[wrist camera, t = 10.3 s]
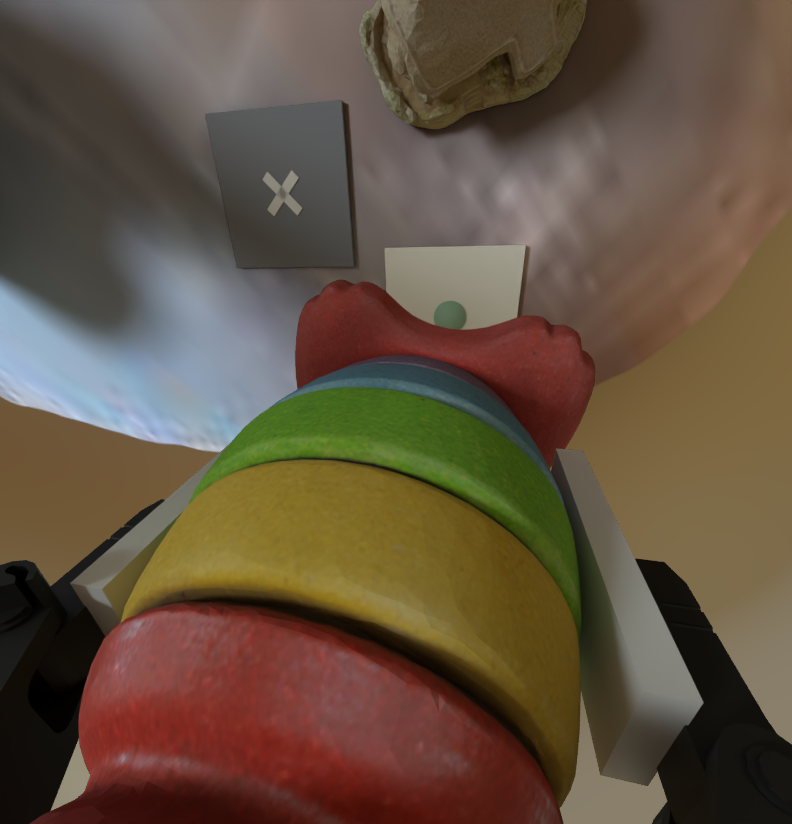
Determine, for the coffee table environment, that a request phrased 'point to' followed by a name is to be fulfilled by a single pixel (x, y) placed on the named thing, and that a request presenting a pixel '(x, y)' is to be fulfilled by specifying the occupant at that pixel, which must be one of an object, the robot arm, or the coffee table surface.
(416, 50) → the beige lumpy chunk
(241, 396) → the coffee table surface
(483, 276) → the pad
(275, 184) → the pad
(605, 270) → the coffee table surface
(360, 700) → the stacking bear
